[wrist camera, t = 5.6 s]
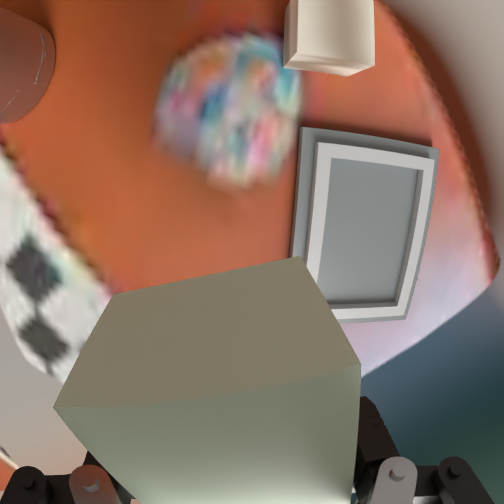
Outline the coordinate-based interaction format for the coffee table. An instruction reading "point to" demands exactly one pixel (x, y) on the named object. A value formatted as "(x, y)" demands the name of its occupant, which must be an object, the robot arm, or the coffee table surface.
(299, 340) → the brick
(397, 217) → the plate
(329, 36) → the cube
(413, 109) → the coffee table surface
